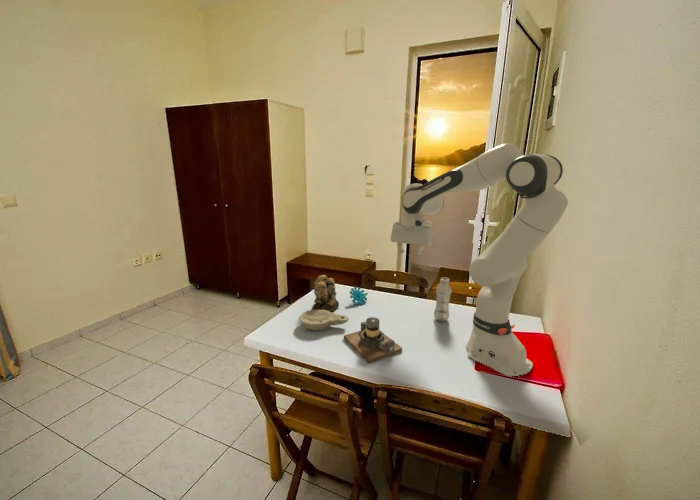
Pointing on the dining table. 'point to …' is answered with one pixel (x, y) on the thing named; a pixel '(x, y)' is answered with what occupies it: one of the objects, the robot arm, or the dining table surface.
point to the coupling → (372, 328)
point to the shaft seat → (372, 345)
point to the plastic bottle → (442, 300)
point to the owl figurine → (325, 294)
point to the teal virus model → (358, 295)
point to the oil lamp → (321, 319)
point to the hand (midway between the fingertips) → (409, 254)
